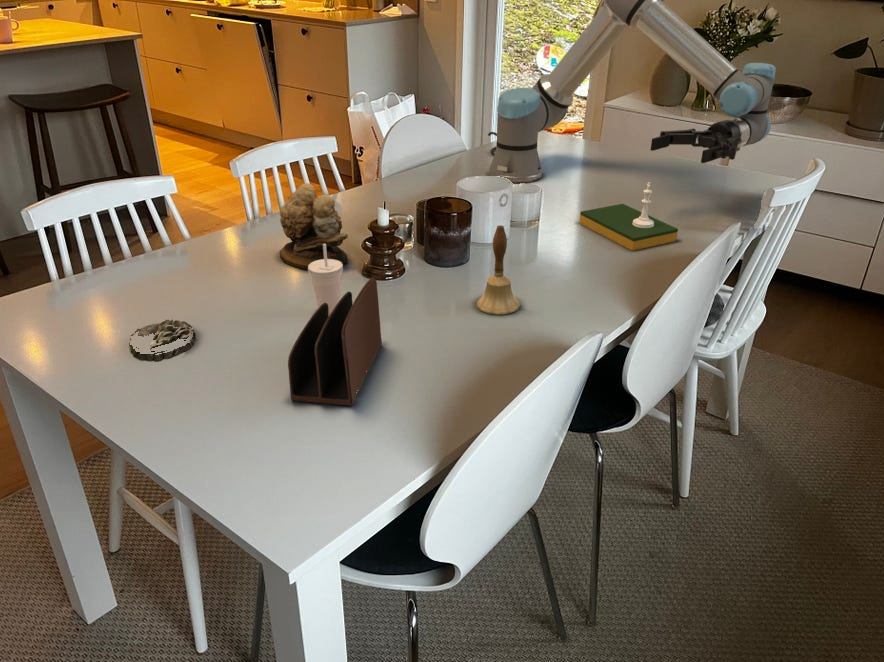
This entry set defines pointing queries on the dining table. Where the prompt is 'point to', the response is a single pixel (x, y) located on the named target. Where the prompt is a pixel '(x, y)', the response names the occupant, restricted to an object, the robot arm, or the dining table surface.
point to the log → (165, 338)
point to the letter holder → (336, 350)
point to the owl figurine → (311, 228)
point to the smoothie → (326, 280)
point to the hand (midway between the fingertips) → (677, 150)
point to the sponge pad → (627, 227)
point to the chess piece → (644, 211)
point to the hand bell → (498, 282)
